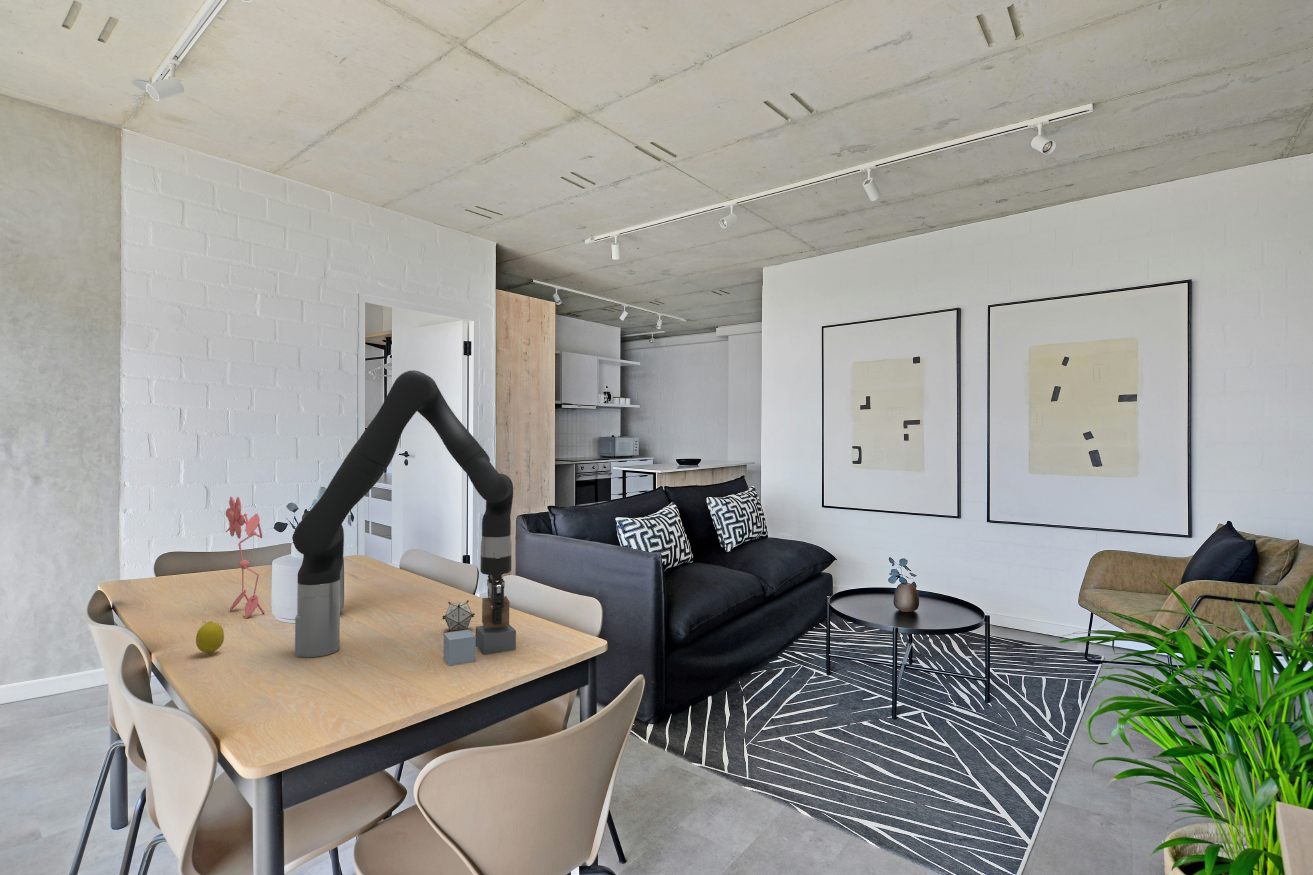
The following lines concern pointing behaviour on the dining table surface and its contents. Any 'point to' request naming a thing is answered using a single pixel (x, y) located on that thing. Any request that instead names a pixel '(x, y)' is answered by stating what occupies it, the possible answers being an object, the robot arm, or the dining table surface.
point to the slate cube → (459, 647)
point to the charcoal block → (495, 639)
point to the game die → (458, 616)
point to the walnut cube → (488, 613)
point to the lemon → (210, 637)
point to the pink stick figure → (235, 526)
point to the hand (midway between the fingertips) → (495, 620)
